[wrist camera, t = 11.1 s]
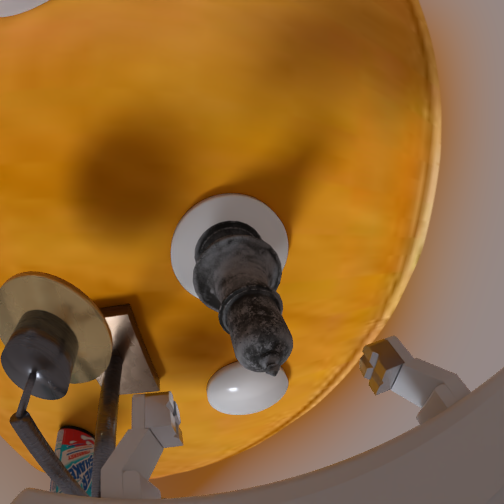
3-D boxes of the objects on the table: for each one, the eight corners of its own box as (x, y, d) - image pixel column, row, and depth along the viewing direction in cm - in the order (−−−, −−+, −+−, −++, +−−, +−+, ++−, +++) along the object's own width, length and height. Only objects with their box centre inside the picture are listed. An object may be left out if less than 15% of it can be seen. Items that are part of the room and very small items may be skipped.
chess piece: (277, 224, 22) (359, 325, 12) (256, 291, 25) (308, 410, 14) (199, 209, 21) (221, 316, 10) (184, 282, 23) (196, 414, 12)
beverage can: (102, 446, 32) (101, 535, 19) (68, 442, 31) (61, 527, 18) (89, 425, 30) (83, 525, 17) (52, 422, 29) (39, 515, 15)
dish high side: (199, 367, 28) (200, 375, 28) (285, 350, 30) (288, 357, 29) (213, 413, 32) (214, 420, 32) (285, 398, 34) (287, 404, 33)
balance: (28, 229, 19) (-115, 439, 1) (115, 209, 20) (-1, 505, 2) (126, 424, 31) (132, 568, 13) (186, 418, 32) (212, 569, 14)
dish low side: (161, 203, 21) (160, 207, 20) (282, 186, 22) (286, 189, 21) (182, 305, 25) (183, 312, 24) (285, 287, 26) (289, 293, 25)
